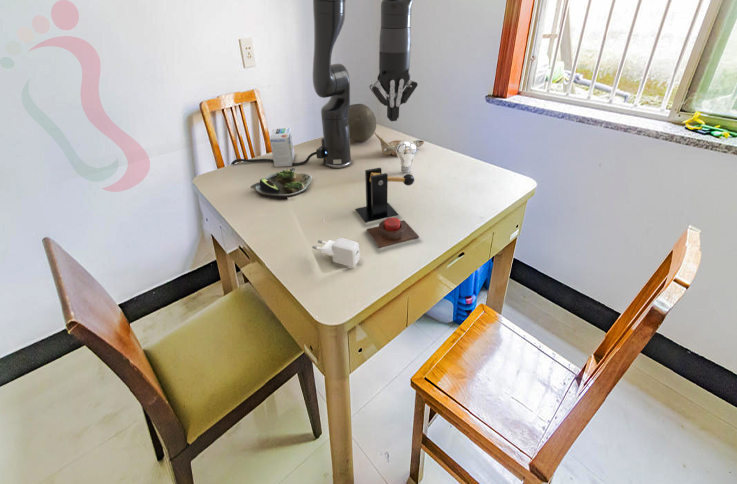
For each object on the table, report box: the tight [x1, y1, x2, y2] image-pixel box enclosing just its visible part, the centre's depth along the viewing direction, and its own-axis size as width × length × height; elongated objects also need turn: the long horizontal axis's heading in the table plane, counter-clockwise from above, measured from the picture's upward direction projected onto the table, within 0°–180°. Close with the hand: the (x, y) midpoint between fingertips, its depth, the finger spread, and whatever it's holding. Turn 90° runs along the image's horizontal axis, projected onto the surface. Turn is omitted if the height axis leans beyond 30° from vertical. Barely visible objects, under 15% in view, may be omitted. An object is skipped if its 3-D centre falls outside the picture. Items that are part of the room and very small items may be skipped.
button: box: [384, 216, 401, 231], centre depth 95 cm, size 4×4×2 cm
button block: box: [366, 219, 420, 249], centre depth 97 cm, size 11×8×4 cm
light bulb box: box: [269, 127, 295, 168], centre depth 138 cm, size 11×7×11 cm, turn 5°
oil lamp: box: [374, 131, 425, 157], centre depth 142 cm, size 9×21×10 cm, turn 115°
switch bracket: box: [355, 167, 400, 224], centre depth 103 cm, size 10×8×13 cm
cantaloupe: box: [348, 103, 377, 143], centre depth 151 cm, size 14×14×15 cm
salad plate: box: [250, 167, 313, 200], centre depth 123 cm, size 19×18×5 cm
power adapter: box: [311, 237, 361, 270], centre depth 89 cm, size 11×5×6 cm, turn 66°
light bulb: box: [396, 139, 418, 174], centre depth 126 cm, size 7×7×12 cm
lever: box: [369, 173, 415, 187], centre depth 103 cm, size 13×3×3 cm, turn 113°
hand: (392, 120), depth 100 cm, fingers closed
